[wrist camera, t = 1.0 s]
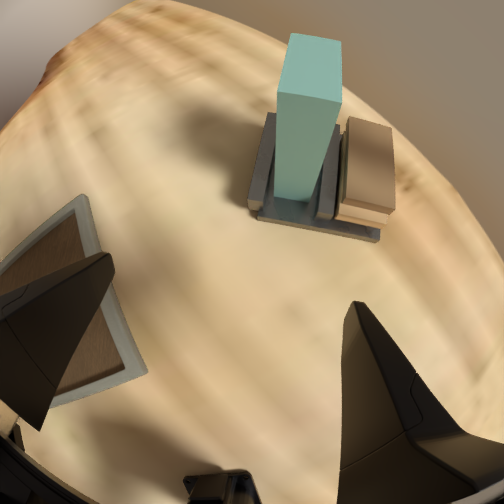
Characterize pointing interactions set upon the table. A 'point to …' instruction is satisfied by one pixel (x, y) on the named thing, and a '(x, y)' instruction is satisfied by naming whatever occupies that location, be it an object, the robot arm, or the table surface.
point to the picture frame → (104, 321)
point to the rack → (297, 212)
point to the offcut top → (369, 166)
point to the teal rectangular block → (306, 113)
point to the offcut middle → (352, 212)
